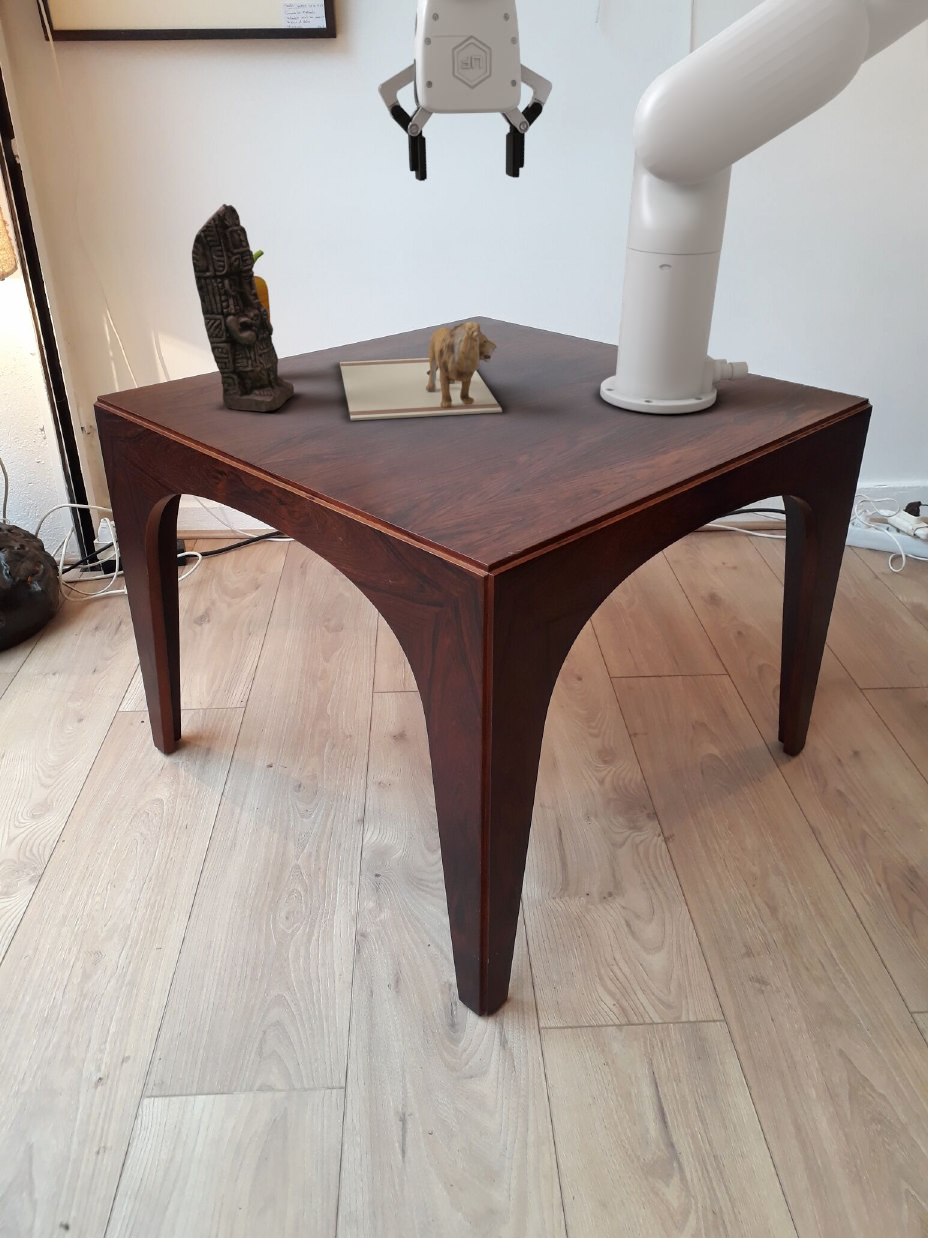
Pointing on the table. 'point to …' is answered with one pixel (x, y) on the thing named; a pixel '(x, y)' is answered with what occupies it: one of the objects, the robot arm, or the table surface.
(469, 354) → the lion figurine
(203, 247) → the statue
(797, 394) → the table surface
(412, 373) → the napkin
